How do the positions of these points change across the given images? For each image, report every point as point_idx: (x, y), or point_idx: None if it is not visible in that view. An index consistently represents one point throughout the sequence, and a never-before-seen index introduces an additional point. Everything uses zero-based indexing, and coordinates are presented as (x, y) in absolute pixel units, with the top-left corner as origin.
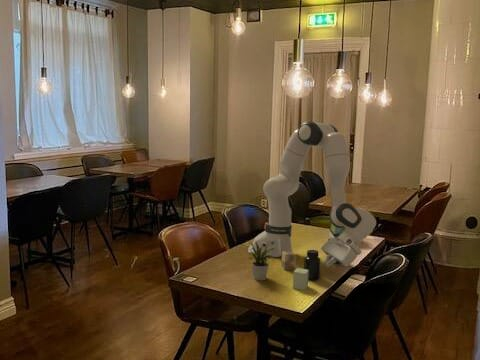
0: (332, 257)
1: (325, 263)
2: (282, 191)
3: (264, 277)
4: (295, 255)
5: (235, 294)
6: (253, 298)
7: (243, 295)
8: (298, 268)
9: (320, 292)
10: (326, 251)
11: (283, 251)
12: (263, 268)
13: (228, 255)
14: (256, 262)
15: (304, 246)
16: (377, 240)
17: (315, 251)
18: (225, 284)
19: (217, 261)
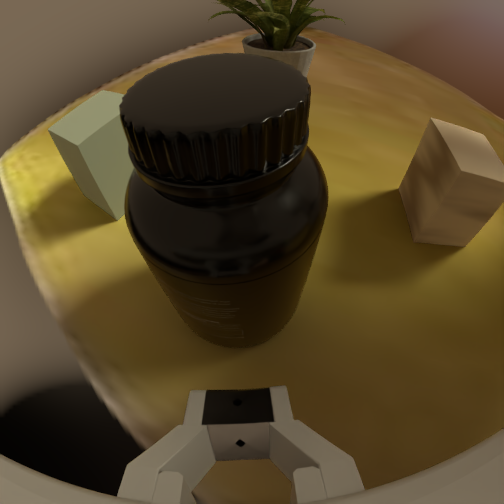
0: (169, 497)
1: (225, 392)
2: None
3: None
4: (457, 174)
5: (161, 58)
6: (118, 79)
7: (147, 67)
8: None
9: (34, 252)
10: (456, 461)
11: (486, 139)
12: (244, 50)
13: (476, 107)
14: (309, 44)
15: None
16: None
17: (186, 100)
18: (234, 48)
19: (418, 74)
